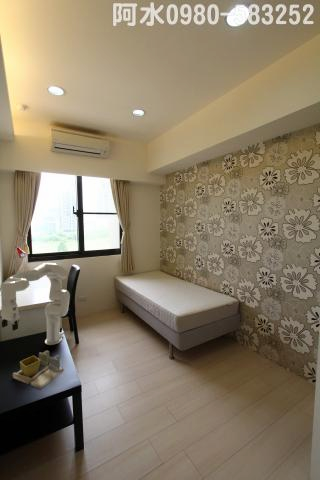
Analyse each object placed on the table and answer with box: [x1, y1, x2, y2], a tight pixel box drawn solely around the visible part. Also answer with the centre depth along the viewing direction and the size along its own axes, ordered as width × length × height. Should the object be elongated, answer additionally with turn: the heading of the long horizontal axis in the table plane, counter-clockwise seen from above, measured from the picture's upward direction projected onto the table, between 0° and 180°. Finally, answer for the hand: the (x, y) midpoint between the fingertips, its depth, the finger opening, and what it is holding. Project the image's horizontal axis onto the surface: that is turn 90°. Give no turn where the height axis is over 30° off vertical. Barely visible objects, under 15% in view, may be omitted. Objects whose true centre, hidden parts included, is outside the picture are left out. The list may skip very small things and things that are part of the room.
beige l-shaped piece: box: [30, 354, 64, 389], centre depth 137 cm, size 17×8×10 cm, turn 160°
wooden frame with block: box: [12, 350, 50, 385], centre depth 143 cm, size 20×14×8 cm
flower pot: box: [19, 355, 41, 378], centre depth 139 cm, size 9×9×9 cm
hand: (10, 328), depth 137 cm, fingers open, 9 cm apart
